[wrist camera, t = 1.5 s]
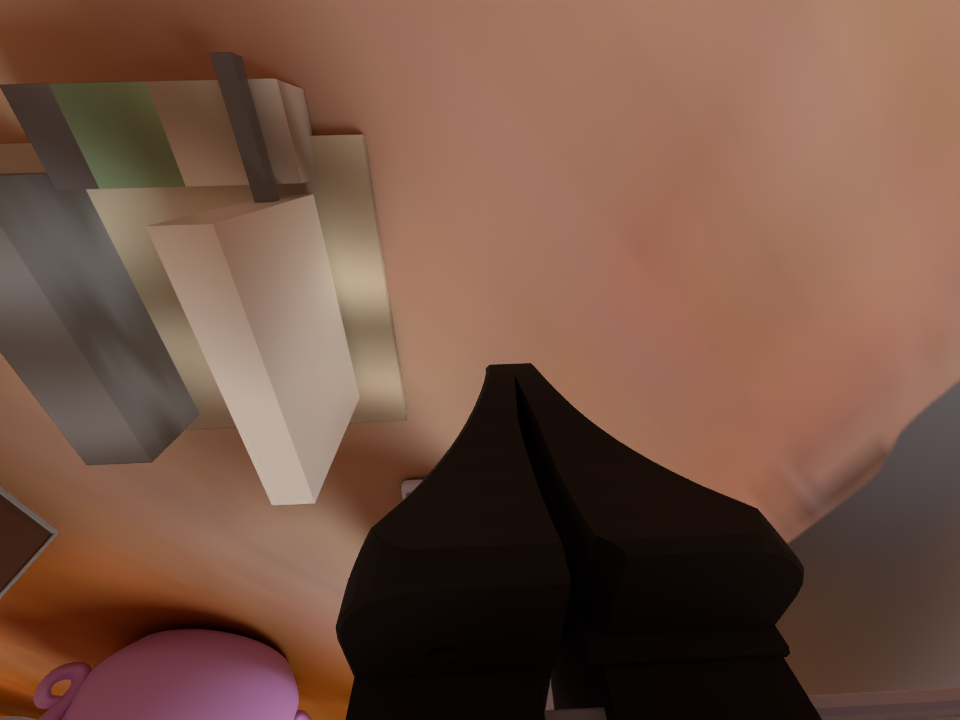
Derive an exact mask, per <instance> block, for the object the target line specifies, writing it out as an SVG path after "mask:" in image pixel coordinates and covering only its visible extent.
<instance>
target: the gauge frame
mask: <svg viewBox="0 0 960 720" xmlns="http://www.w3.org/2000/svg"><path fill="white" fill-rule="evenodd" d="M248 83H249V86H250V90H251V94H252V98H253V101H254V105H255V109H256V112H257V116H258V120H259V123H260V127H261V131H262V135H263V138H264V142H265V146H266V149H267V153H268V157H269V160H270V164H271V168H272V172H273V175H274V179H275V183H276V186H277V190H278V194H279V195H296V194H314V199H315V203H316V208H317V212H318V216H319V221H320V225H321V230H322V234H323V238H324V243H325V247H326V252H327V256H328V260H329V265H330V269H331V274H332V278H333V282H334V287H335V291H336V296H337V300H338V304H339V309H340V313H341V318H342V322H343V326H344V331H345V335H346V340H347V344H348V348H349V353H350V357H351V362H352V366H353V371H354V375H355V379H356V384H357V388H358V393H359V397H360V398H359V400H358V403H357V405H356V407H355V410H354V412H353V414H352V417H351V419H350V422H349V423H355V422H379V421H404V420H407V410H406V404H405V397H404V391H403V384H402V378H401V371H400V365H399V358H398V352H397V345H396V339H395V332H394V326H393V319H392V312H391V306H390V299H389V293H388V286H387V280H386V273H385V267H384V260H383V254H382V247H381V241H380V234H379V227H378V221H377V214H376V208H375V201H374V195H373V188H372V182H371V175H370V169H369V162H368V156H367V149H366V143H365V136H364V135H323V136H313V133H312V128H311V124H310V119H309V114H308V109H307V105H306V100H305V95H304V91H303V89H302V88H299V87H296V86H293V85H291V84H288V83H285V82H283V81H280V80H277V79H274V78H273V79H248ZM0 87H1V89H2V91H3V93H4V95H5V97H6V98H7V100H8V102H9V104H10V106H11V108H12V110H13V111H14V113H15V115H16V117H17V119H18V121H19V122H20V124H21V126H22V128H23V130H24V132H25V133H26V135H27V137H28V139H29V141H30V143H10V144H0V352H1V354H2V355H3V356H4V358H5V359H6V360H7V361H8V363H9V364H10V365H11V367H12V368H13V369H14V371H15V372H16V373H17V375H18V376H19V377H20V378H21V380H22V381H23V382H24V384H25V385H26V386H27V388H28V389H29V390H30V392H31V393H32V394H33V396H34V397H35V398H36V399H37V401H38V402H39V403H40V405H41V406H42V407H43V409H44V410H45V411H46V413H47V414H48V415H49V416H50V418H51V419H52V420H53V422H54V423H55V424H56V426H57V427H58V428H59V430H60V431H61V432H62V433H63V435H64V436H65V437H66V439H67V440H68V441H69V443H70V444H71V445H72V447H73V448H74V449H75V450H76V452H77V453H78V454H79V456H80V457H81V458H82V460H83V461H84V462H85V464H86V465H103V464H127V463H151V462H153V461H154V460H155V459H156V458H157V457H158V456H159V455H160V454H161V453H162V452H163V451H164V450H165V449H166V448H167V447H168V446H169V445H170V444H171V443H172V442H173V441H174V440H175V439H176V438H177V437H178V436H179V435H180V434H181V433H182V432H183V431H184V430H185V429H206V428H231V427H236V425H235V423H234V421H233V418H232V416H231V414H230V412H229V409H228V407H227V405H226V403H225V401H224V398H223V396H222V394H221V392H220V390H219V387H218V385H217V383H216V381H215V379H214V376H213V374H212V372H211V370H210V368H209V365H208V363H207V361H206V359H205V357H204V354H203V352H202V350H201V348H200V345H199V343H198V341H197V339H196V337H195V334H194V332H193V330H192V328H191V326H190V323H189V321H188V319H187V317H186V315H185V312H184V310H183V308H182V306H181V304H180V301H179V299H178V297H177V295H176V293H175V290H174V288H173V286H172V284H171V281H170V279H169V277H168V275H167V273H166V270H165V268H164V266H163V264H162V262H161V259H160V257H159V255H158V253H157V251H156V248H155V246H154V244H153V242H152V240H151V237H150V235H149V233H148V231H147V229H146V226H148V225H152V224H156V223H161V222H165V221H169V220H173V219H177V218H181V217H185V216H189V215H193V214H198V213H202V212H206V211H210V210H214V209H218V208H222V207H226V206H231V205H235V204H239V203H243V202H247V201H251V200H254V198H253V195H252V192H251V188H250V185H249V182H248V178H247V175H246V172H245V169H244V165H243V162H242V159H241V155H240V152H239V149H238V145H237V142H236V139H235V136H234V132H233V129H232V126H231V122H230V119H229V116H228V112H227V109H226V106H225V103H224V99H223V96H222V93H221V89H220V86H219V83H218V80H185V81H140V82H96V83H52V84H8V85H0Z"/></svg>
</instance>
